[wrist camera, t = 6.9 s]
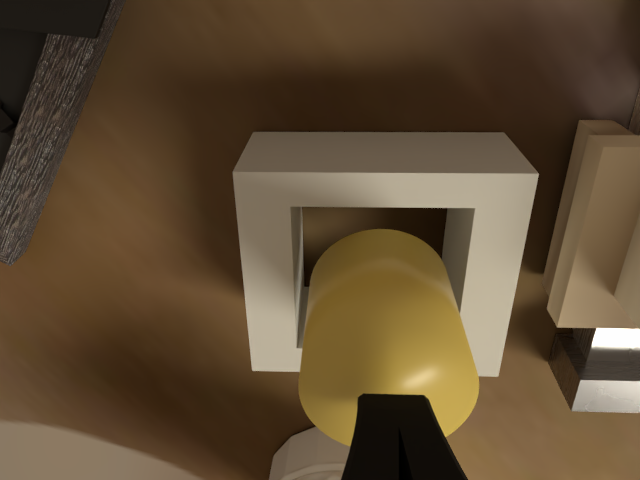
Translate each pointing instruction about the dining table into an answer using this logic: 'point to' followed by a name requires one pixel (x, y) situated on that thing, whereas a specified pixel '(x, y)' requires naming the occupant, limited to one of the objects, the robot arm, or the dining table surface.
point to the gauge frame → (382, 191)
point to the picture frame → (42, 100)
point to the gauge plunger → (383, 333)
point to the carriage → (597, 232)
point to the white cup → (309, 457)
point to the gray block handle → (600, 358)
